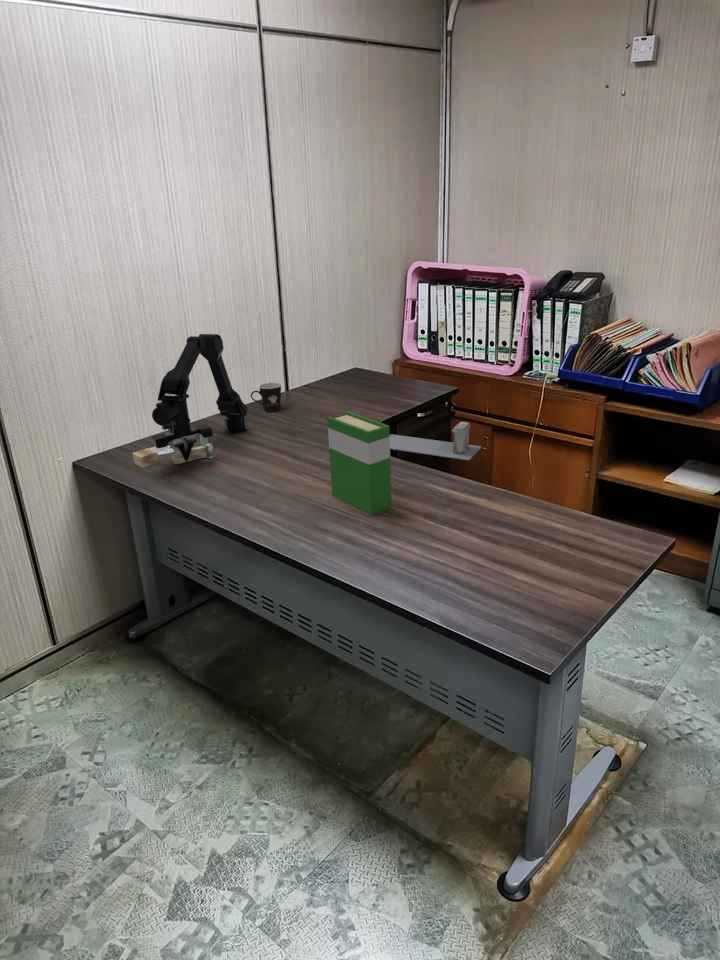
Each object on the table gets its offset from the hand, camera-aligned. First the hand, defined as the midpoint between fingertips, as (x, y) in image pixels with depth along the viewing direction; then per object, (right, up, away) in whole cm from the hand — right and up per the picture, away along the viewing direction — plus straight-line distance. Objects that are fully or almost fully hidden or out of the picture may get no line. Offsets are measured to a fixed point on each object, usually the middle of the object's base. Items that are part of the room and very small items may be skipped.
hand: (186, 460), depth 227 cm
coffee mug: (+20, +22, +52) cm, 60 cm away
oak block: (-14, -1, +5) cm, 15 cm away
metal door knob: (+6, +2, +9) cm, 11 cm away
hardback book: (+57, -13, -28) cm, 65 cm away
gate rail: (0, 0, +5) cm, 5 cm away
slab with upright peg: (+80, +4, +8) cm, 80 cm away
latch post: (+2, +6, +19) cm, 20 cm away
